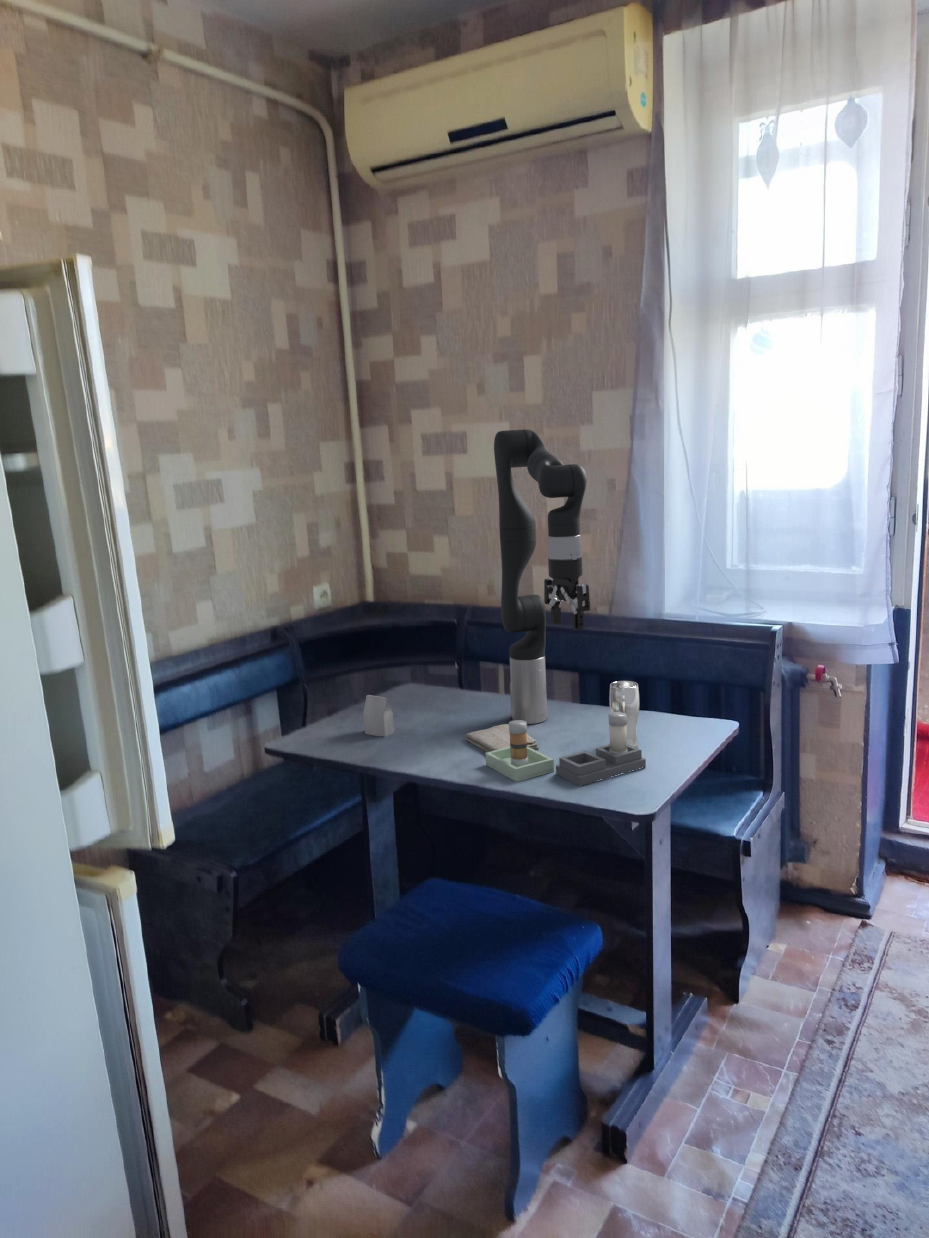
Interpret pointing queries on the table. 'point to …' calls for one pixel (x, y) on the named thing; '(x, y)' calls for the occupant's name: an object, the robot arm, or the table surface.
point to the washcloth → (495, 738)
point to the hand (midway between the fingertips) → (567, 626)
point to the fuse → (618, 732)
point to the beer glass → (626, 706)
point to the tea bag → (378, 716)
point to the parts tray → (535, 767)
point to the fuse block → (598, 764)
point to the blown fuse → (518, 743)
